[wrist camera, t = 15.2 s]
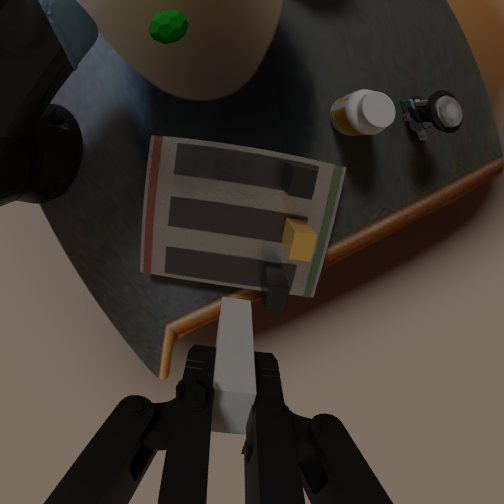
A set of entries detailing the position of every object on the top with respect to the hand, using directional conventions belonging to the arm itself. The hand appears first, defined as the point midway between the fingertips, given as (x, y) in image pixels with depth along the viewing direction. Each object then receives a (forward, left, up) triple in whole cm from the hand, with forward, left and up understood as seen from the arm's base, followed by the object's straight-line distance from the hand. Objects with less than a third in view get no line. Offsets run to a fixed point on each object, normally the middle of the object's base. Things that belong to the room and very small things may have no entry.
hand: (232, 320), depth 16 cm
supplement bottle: (+12, +16, -25) cm, 32 cm away
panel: (0, 0, -24) cm, 24 cm away
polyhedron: (-13, +24, -25) cm, 37 cm away
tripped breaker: (+7, 0, -21) cm, 22 cm away
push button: (+22, +19, -25) cm, 38 cm away
